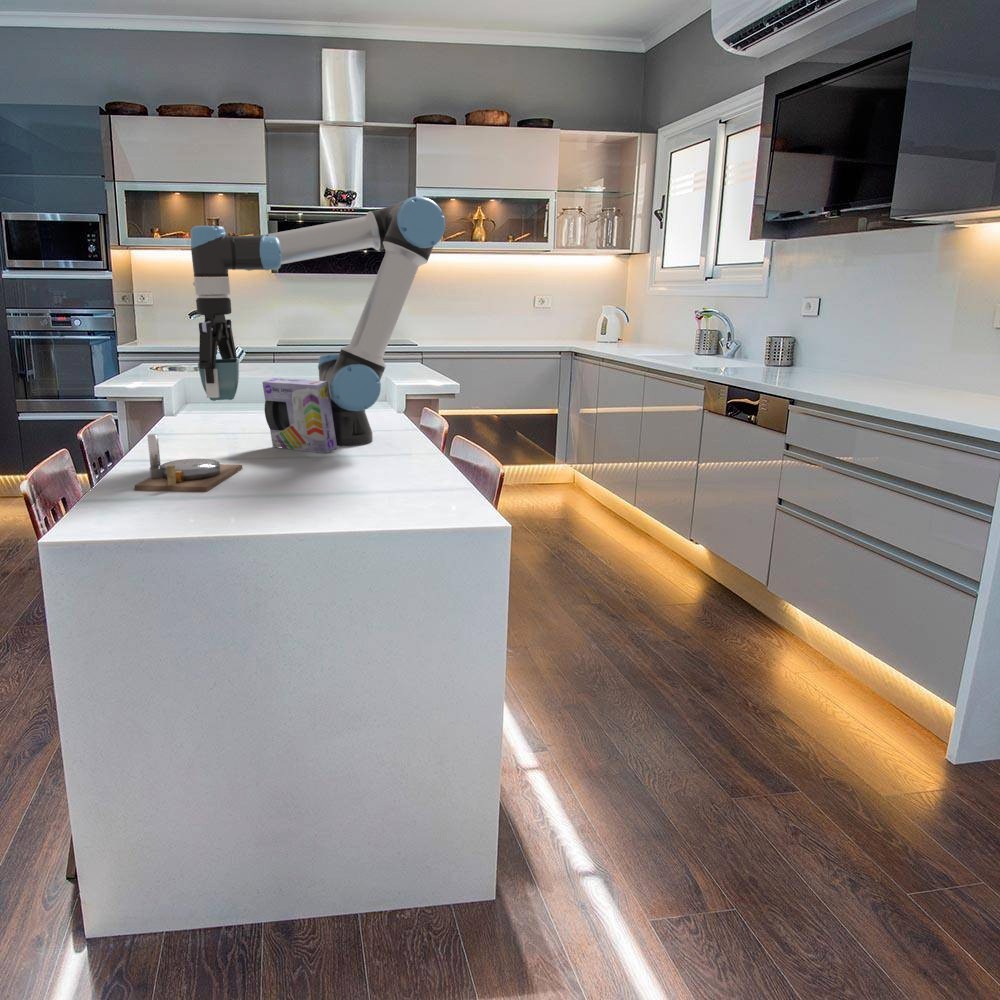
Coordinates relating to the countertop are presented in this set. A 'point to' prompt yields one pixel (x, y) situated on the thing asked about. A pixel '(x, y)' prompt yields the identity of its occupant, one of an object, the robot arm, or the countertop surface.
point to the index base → (187, 485)
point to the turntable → (180, 465)
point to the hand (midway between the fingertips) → (221, 394)
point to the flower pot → (224, 378)
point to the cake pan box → (299, 414)
